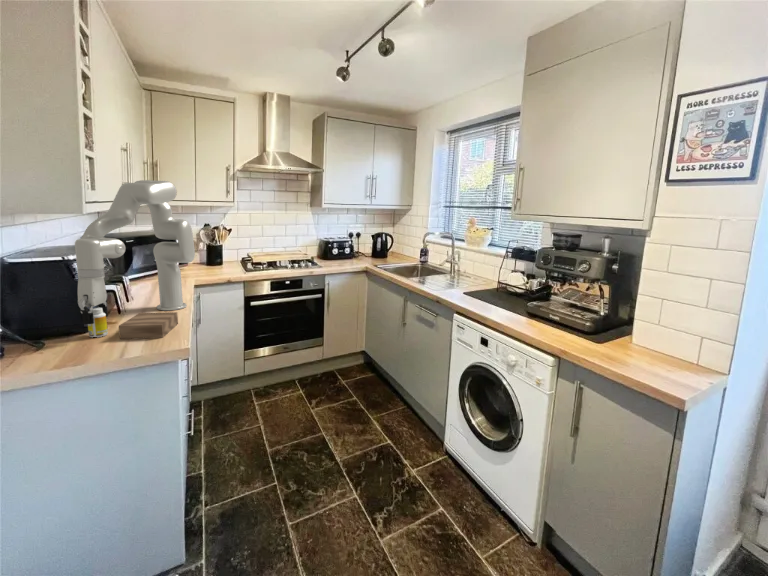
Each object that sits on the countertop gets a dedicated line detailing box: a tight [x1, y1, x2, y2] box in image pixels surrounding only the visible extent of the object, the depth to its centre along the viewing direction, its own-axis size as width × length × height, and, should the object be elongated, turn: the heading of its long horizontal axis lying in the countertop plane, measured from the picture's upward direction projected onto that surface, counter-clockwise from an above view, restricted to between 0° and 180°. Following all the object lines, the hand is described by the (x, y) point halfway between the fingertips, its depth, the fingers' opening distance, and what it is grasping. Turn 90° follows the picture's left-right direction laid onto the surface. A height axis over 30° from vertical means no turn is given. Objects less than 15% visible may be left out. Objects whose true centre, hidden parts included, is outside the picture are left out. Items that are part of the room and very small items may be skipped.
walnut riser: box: [118, 311, 179, 340], centre depth 144 cm, size 18×14×5 cm
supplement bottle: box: [87, 307, 109, 338], centre depth 136 cm, size 6×6×10 cm
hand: (95, 320), depth 136 cm, fingers open, 9 cm apart
